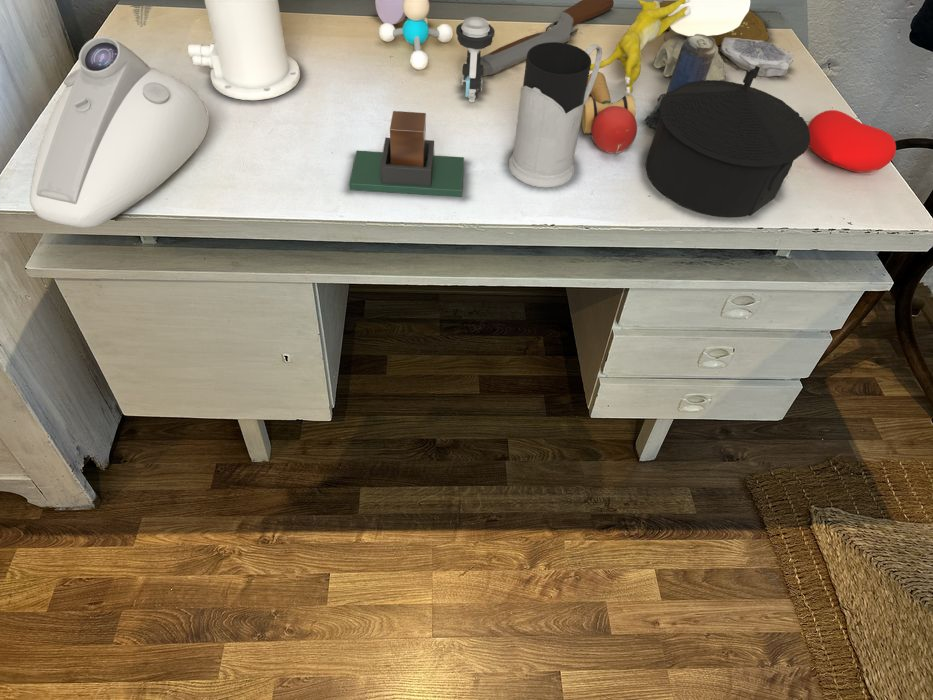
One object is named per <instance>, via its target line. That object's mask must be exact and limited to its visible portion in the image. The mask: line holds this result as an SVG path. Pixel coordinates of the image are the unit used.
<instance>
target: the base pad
mask: <svg viewBox="0 0 933 700" xmlns="http://www.w3.org/2000/svg"><path fill="white" fill-rule="evenodd" d="M384 138H385V139H384V144H383V150H382V151H372V150H371V151H370V150H356V152H355V157H354V162H353V166H352V170H351V174H350V177H349V178H350V179H349V184H348V185H349V191H360V192H375V193H377V192H379V193H390V194H391V193H393V194H394V193H395V194H409V195H423V196H425V195H426V196H440V197H441V196H442V197H457V198H459V197H460V198H462V197H463V179H464V162H465V157H463V156H451V155H450V156H449V155H435V140H434V139H433V140H432V139H431V140H430V139H426V158H425V167H421V166H405V165H391V150H390V137H384Z"/></svg>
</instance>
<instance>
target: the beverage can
mask: <svg viewBox="0 0 933 700" xmlns="http://www.w3.org/2000/svg"><path fill="white" fill-rule="evenodd" d="M714 55H715V43H714V41H713V39H711V38H710V37H708V36H706V35H702V34H695V35H694V36H690V37H688V38H687V39H686V40H685V41H684V43H683V44H682V47H681V50H680V53H679V56H678V59H677V62H676V65H675V68H674V72H673V75H672V76H671V78H670V81H669V84H668V87H667V91H666V93H665V92H664V93H661V94H659V96H658V97H657V104H656V105H655V106H654V107H653V109H652V111H651V113H650V114H649V115H646V117H645V119H644V122H645V123H644V124H647V126H648V128H653V129H655V130H656V128H657V125H658V121H659V118H660V113H659V106H660V101H661V100H662V98H663V97H664V96H665V94H667V93H669V92H670V91H672V90H674V89H676V88H678V87H680V86H682V85H684V84H686V83H689V82H694V81H700V80H703V81H705V80H706V77H707V74H708V71H709V69H710V66H711V63H712V60H713V58H714Z"/></svg>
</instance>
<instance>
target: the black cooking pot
mask: <svg viewBox="0 0 933 700" xmlns="http://www.w3.org/2000/svg"><path fill="white" fill-rule="evenodd" d="M759 69H760V67H758V66H756V67H755V68H754V69H751V70H750V72H749V71H747V70H746V73H745V76H744V78H743V81H742V82H743V83H737V82H733V81H727V80H721V81H719V80H706V81H703V80H700V81H694V82H689V83H686V84H684V85H682V86H680V87H678V88H676V89H674V90H672V91H670V92H669V93H667V92H666V93H667V94H666V93H665V96H664V97H663V98H662V100H661V101H660V106H659V113H660V118H659V121H658V125H657V128H655V131H654V135H653V137H652V141H651V144H650V147H649V150H648V152H647V153H648V154H647V157H646V162H645V167H646V172H647V176H648V178H649V180H650V182H651V184H652V185H653V186H654V187H655V188H656V190H658V191H659V192H660V193H661V194H662V195H663V196H665V197H666V198H668V199H669V200H671V201H673V202H674V203H676V204H677V205H679V206H681V207H683V208H686V209H688V210H690V211H693V212H696V213H699V214H702V215H707V216H711V217H719V218H741V217H747V216H749V217H752V215H754V214H755V213H757V211H759V210H760V209H763V207H764V206H766V205H767V204H769V203H770V202H771V201H773V200H774V199H776V197H777V195H778V193H779V191H780V189H781V187H782V184H783V183H784V181H785V179H786V178H787V176H788V175H789V173H790V171H791V168H792V166H793V163H794V161H795V160H796V159H798V158H799V157H800V156H802V155H803V154H805V153H806V151H807V150H808V149H809V147H810V146H809V143H810V133H809V128H808V123H807V122H806V120H805V119H804V118H803V116H801V115H800V113H799V112H798V111H796V110H795V109H794V108H793V107H792V106H790V105H788V104H787V103H786V102H784V101H783V100H782V99H780V98H779V97H776V96H774V95H772V94H770V93H768V92H766V91H764V90H761V89H758V88H756V87H752V84H753V81H754V79H756V78H757V77H758V75H757V74H758V72H759Z"/></svg>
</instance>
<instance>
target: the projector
mask: <svg viewBox="0 0 933 700" xmlns="http://www.w3.org/2000/svg"><path fill="white" fill-rule="evenodd" d="M78 63H79V65H80V68H79V69H75V70H74V71H72V72H70V73H69V74H68V75H67V77H66V78H65V79H64V80H63V84H64V85H65V86H66V87H64V90H63V91H62V92H61V94H60V96H59V98H58V99H57V101H56V103H55V105H54V107H53V110H52V112H51V114H50V116H49V118H48V121H47V124H46V126H45V129H44V132H43V135H42V138H41V141H40V144H39V148H38V151H37V152H38V153H37V156H36V159H35V164H34V168H33V172H32V176H31V177H32V178H31V184H30V189H29V204H30V206H31V209H32V210H33V212H34V214H35V215H36V216H37V217H39V218H40V219H42V220H45V221H48V222H51V223H56V224H58V225H59V224H60V225H63V226H64V225H65V226H70V227H77V228H82V229H90V228H91V229H92V228H96V227H99V226H101V225H103V224H105V223H107V222H108V221H111V220H112V219H114V218H116V217H117V216H119V215H121V214H122V213H124V212H125V211H127V210H128V209H129V208H131V207H132V206H135V204H137V203H139V202H140V201H141V200H143V199H144V198H145V197H147V196H148V195H150V193H152V192H153V191H155V189H157V188H158V187H160V186H161V185H162V184H163V183H164V182H166V181H167V180H168V179H169V178H170V177H171V176H172V175H173V174H174V173H175V172H177V170H178V169H180V168H181V167H182V166H183V164H185V162H187V160H188V159H190V157H191V156H192V155H193V154H194V153H195V152H196V151H197V149H198V148H199V147H200V145H201V143H202V142H203V141H204V139H205V137H206V135H207V132H208V128H209V113H208V109H207V106H206V104H205V102H204V100H203V99H202V98H201V96H200V95H199V93H197V91H196V90H194V89H193V87H191V86H190V85H189V84H187V83H186V82H184V81H183V80H181V79H179V78H177V77H175V76H174V75H172V74H169V73H167V72H166V71H162V70H159V69H157V68H155V67H151V66H149V65H148V63H146V62H145V60H143V59H142V58H141V57H140V56H139V55H137V54H136V53H135V52H134V51H132V49H130V48H128V47H127V46H126V45H125V44H123V43H121V42H119V41H118V40H116V39H115V38H113V37H110V36H104V35H102V36H101V35H99V36H96V37H94V38H91V39H90V40H89V39H88V41H87V42H85V43H84V44H83V46H82V47H81V49H80V51H79V53H78Z"/></svg>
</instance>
